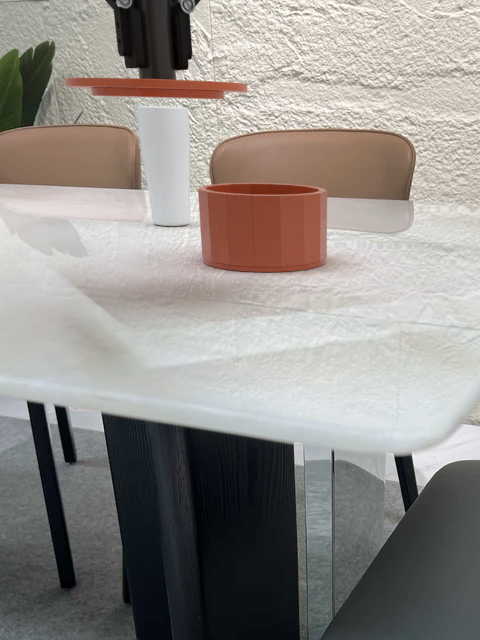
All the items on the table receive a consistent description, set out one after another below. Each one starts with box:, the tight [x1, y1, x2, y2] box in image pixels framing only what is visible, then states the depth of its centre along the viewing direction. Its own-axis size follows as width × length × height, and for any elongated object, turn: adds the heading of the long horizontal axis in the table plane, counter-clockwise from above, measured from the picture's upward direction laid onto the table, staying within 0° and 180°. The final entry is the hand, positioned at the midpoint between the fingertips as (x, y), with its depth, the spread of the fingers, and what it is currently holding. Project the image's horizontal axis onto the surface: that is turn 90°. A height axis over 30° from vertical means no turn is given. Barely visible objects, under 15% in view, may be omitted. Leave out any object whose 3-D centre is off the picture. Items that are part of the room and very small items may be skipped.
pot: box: [197, 182, 328, 273], centre depth 84 cm, size 14×14×8 cm
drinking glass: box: [136, 105, 192, 227], centre depth 106 cm, size 7×7×15 cm
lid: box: [64, 0, 248, 100], centre depth 63 cm, size 15×15×7 cm
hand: (156, 66), depth 64 cm, fingers closed on lid, 3 cm apart
